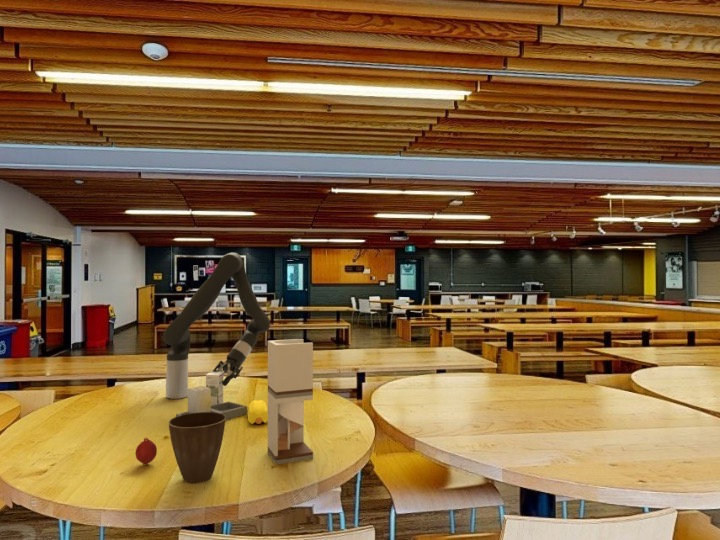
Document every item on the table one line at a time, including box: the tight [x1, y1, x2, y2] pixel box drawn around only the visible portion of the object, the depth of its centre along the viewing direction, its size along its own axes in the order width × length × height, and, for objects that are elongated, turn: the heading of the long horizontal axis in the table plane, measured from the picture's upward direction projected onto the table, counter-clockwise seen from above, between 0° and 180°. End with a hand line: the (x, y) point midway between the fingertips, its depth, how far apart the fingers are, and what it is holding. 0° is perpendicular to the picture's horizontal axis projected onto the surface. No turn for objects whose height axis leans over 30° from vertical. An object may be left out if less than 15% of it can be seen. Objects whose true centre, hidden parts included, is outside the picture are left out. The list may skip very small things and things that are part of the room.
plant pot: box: [168, 412, 226, 484], centre depth 132 cm, size 15×15×16 cm
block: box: [187, 385, 211, 414], centre depth 184 cm, size 6×6×12 cm
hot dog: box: [247, 399, 268, 425], centre depth 187 cm, size 18×7×8 cm
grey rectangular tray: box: [175, 401, 248, 421], centre depth 188 cm, size 12×24×3 cm, turn 142°
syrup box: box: [205, 371, 225, 406], centre depth 204 cm, size 6×6×14 cm
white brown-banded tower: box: [267, 338, 314, 465], centre depth 149 cm, size 11×11×35 cm
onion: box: [134, 437, 158, 465], centre depth 141 cm, size 6×6×8 cm
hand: (217, 383), depth 205 cm, fingers open, 8 cm apart
